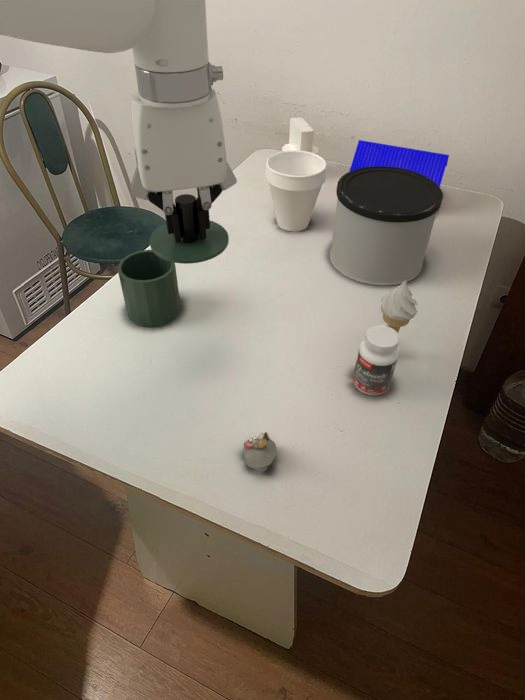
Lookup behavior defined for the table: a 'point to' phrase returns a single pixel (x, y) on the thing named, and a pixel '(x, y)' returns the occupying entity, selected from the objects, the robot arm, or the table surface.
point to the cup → (295, 186)
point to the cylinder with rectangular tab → (300, 136)
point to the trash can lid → (189, 236)
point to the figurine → (259, 452)
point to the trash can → (149, 288)
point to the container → (383, 224)
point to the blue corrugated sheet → (400, 159)
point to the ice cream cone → (398, 307)
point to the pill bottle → (376, 360)
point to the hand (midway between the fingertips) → (189, 234)
